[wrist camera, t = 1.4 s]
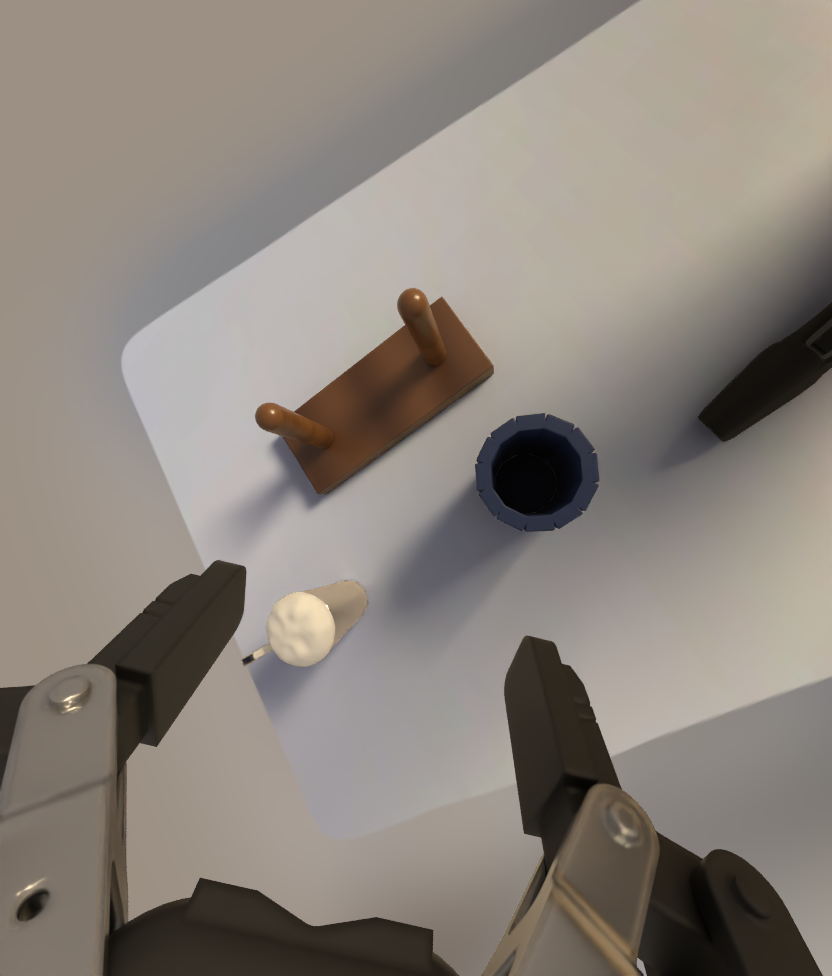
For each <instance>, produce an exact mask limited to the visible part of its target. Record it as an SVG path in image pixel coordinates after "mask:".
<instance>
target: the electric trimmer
mask: <svg viewBox="0 0 832 976" xmlns="http://www.w3.org/2000/svg"><path fill="white" fill-rule="evenodd" d="M830 368H832V303H831V304H830V305H829V306H827V307H826V308H825V309H824V310H823V311H821V312H820V313H819V314H818V315H817V316H815V317H814V318H813V319H811V320H810V321H809V322H807V323H806V324H805V325H803V326H802V327H801V328H799V329H798V330H797V331H795V332H794V333H793V334H791V335H790V336H788V337H786V338H785V339H783V340H781V341H780V342H777V343H775V344H773V345H771V346H769V347H768V348H766V349H765V350H764V351H763V352H761V353H760V354H759V355H758V356H757V357H756V358H755V359H754V360H753V361H752V362H751V363H750V364H749V365H748V366H747V367H746V368H745V369H744V370H743V371H742V372H741V373H740V374H739V375H738V376H737V377H736V378H735V379H734V380H733V381H732V382H731V383H730V384H729V385H728V386H727V387H726V388H725V389H724V390H723V391H722V392H721V393H720V394H719V395H718V396H717V397H716V398H715V399H714V400H713V401H712V402H711V403H710V404H708V405H707V406H706V407H705V409H704V410H703V411H702V412H701V413H700V415H699V416H698V418H699V420H701V421H702V422H703V423H704V424H705V425H706V426H707V427H708V428H709V429H710V430H711V431H712V432H713V433H714V434H715V435H716V436H717V437H718V438H719V439H720V440H721V441H723V442H725V441H728V440H730V439H732V438H734V437H735V436H737V435H738V434H740V433H741V432H743V431H744V430H746V429H748V428H749V427H751V426H752V425H754V424H755V423H757V422H758V421H760V420H761V419H763V418H764V417H766V416H767V415H769V414H771V413H772V412H774V411H775V410H777V409H778V408H780V407H781V406H783V405H784V404H786V403H787V402H789V401H790V400H792V399H793V398H795V397H797V396H798V395H799V394H801V393H802V392H803V391H805V390H806V389H808V388H809V387H810V386H812V385H813V384H814V383H815V382H816V381H817V380H818V379H819V378H820V377H821V376H822V375H823V374H824V373H826V372H827V371H828V370H829V369H830Z"/></svg>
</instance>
